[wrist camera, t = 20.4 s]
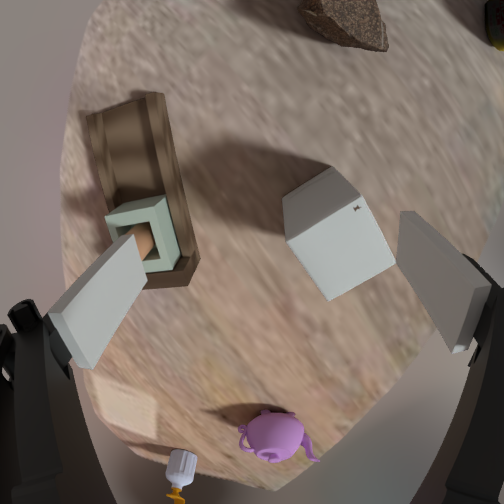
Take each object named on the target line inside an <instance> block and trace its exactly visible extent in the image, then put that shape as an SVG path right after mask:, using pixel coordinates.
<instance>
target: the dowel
mask: <svg viewBox="0 0 504 504" xmlns="http://www.w3.org/2000/svg"><path fill="white" fill-rule="evenodd" d="M129 234H134V237H135V241H136V244H137V248H138V251H139V254H140V258H141V261H142V260H143V259H144V258H145V257H146V255H147V254H148V253H149V252H150V250H151V249H152V248H153V247H154V245H155V244H156V242H155V239H154V235H153V232H152V228H151V225H150V221H148V222H142V223H137V224H136V225H135V226H134V227H133V228H132V229H130V230H129V231H128V232H127V233H126V234H125V235H129Z"/></svg>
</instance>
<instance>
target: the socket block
mask: <svg viewBox="0 0 504 504" xmlns="http://www.w3.org/2000/svg"><path fill="white" fill-rule="evenodd" d="M105 220H106V223H107V226H108V229H109V232H110V235H111V238H112V241H113V243H114V242H115V241H116V240H117V239H118V238H119V237H120V236H121V235H125V234H126V233H127V232H128V231H129V230H130V229H132V228H133V227H134V226H135V225H136V224H137V223H142V222H148V221H150V225H151V228H152V232H153V235H154V239H155V242H156V244H155V245H154V247H153V248H152V249H151V250H150V252H149V253H148V254H147V255H146V257H145V258H144V259H143V260H142V264H143V267H144V271H145V273H147V272H157V271H166V270H173V268H174V266H175V265H176V263H177V261H178V260H179V258H180V256H181V255H182V252H181V249H180V245H179V242H178V238H177V234H176V231H175V227H174V223H173V219H172V215H171V212H170V208H169V204H168V200H167V196H166V194H164V195H159V196H154V197H149V198H145V199H140V200H135V201H131V202H126V203H123V204H122V205H120V206H119V207H117V208H116V209H114V210H113V211H112V212H110V213H109V214H107V215H106V216H105Z"/></svg>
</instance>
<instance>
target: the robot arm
mask: <svg viewBox="0 0 504 504" xmlns="http://www.w3.org/2000/svg"><path fill="white" fill-rule="evenodd" d="M396 264H397V265H398V267H399V268H400V269H401V271H402V272H403V274H404V275H405V277H406V278H407V280H408V282H409V283H410V285H411V286H412V288H413V289H414V291H415V292H416V294H417V296H418V297H419V299H420V300H421V302H422V304H423V305H424V307H425V308H426V310H427V312H428V313H429V315H430V317H431V318H432V320H433V322H434V323H435V325H436V327H437V329H438V330H439V332H440V334H441V335H442V337H443V339H444V341H445V343H446V345H447V346H448V348H449V350H450V352H451V354H453V353H457V352H461V351H465V350H468V348H469V346H470V343H471V341H472V339H473V337H474V338H475V339H476V341H477V343H478V345H477V347H476V349H475V352H474V354H473V356H472V358H471V360H470V362H469V364H468V366H469V367H470V370H469V373H468V377H467V380H466V383H465V386H464V389H463V392H462V395H461V398H460V401H459V404H458V406H457V409H456V412H455V414H454V417H453V419H452V422H451V424H450V427H449V429H448V432H447V434H446V436H445V438H444V441H443V443H442V445H441V447H440V449H439V451H438V454H437V456H436V458H435V460H434V462H433V464H432V466H431V467H430V469H429V472H428V473H427V475H426V477H425V479H424V480H423V482H422V484H421V486H420V488H419V489H418V491H417V493H416V494H415V496H414V497H413V499H412V501H411V502H410V504H500V503H499V502H498V497H499V493H500V490H501V488H502V485H503V482H504V288H501V287H500V286H499V285H498V284H497V283H496V282H495V281H494V280H493V279H492V278H491V276H490V275H489V274H488V273H485V270H484V269H483V268H482V267H480V265H479V264H478V263H477V262H476V261H475V260H474V259H472V258H470V257H469V256H467V255H465V254H461V253H460V252H459V251H458V250H457V249H456V248H455V247H454V246H453V245H452V244H451V243H450V242H449V241H448V240H447V239H445V238H444V237H443V236H442V235H441V234H440V233H439V232H438V231H437V230H436V229H434V228H433V227H432V226H431V225H430V224H429V223H428V222H426V221H425V220H424V219H423V218H422V217H421V216H419V215H418V214H417V213H416V212H415V211H400V224H399V236H398V247H397V256H396ZM147 281H148V280H147V277H146V274H145V271H144V267H143V264H142V261H141V258H140V254H139V251H138V248H137V244H136V241H135V237H134V234H129V235H121V236H120V237H119V238H118V239H117V240H116V241H115V242H114V243H113V244H112V245H111V246H110V247H109V248H108V249H107V250H106V251H105V252H104V253H103V254H102V255H101V256H100V257H99V258H98V259H97V260H96V261H95V262H94V263H93V264H92V265H91V266H90V267H89V268H88V269H87V270H86V271H85V272H84V273H83V274H82V275H81V276H80V277H79V278H78V279H77V280H76V281H75V282H74V283H73V284H72V285H71V287H70V288H69V289H68V290H67V291H66V292H65V293H64V294H63V295H62V296H61V297H60V299H59V300H58V301H57V302H56V303H55V304H54V305H53V307H52V308H51V309H50V310H49V311H48V312H47V314H46V315H45V316H44V317H43V318H42V317H41V315H40V313H39V311H38V309H37V307H36V305H35V303H34V301H33V300H31V299H27V300H23V301H21V302H19V303H17V304H16V305H15V306H13V307H12V308H11V309H10V311H9V312H8V317H9V318H10V320H11V322H12V324H13V326H14V327H15V329H16V331H17V333H13V334H11V333H10V331H9V329H8V327H7V326H6V325H5V324H0V504H117V503H116V500H115V498H114V496H113V494H112V492H111V490H110V487H109V485H108V483H107V480H106V478H105V476H104V473H103V471H102V468H101V465H100V463H99V460H98V458H97V455H96V452H95V449H94V446H93V444H92V441H91V438H90V435H89V432H88V428H87V425H86V422H85V418H84V415H83V412H82V408H81V404H80V400H79V396H78V392H77V389H76V384H75V380H74V375H73V370H72V368H71V366H70V365H69V363H68V362H69V361H70V359H71V358H72V357H73V359H74V361H75V362H76V364H77V365H78V367H79V368H85V369H92V370H93V369H94V367H95V365H96V363H97V362H98V360H99V358H100V356H101V355H102V353H103V351H104V350H105V348H106V346H107V345H108V343H109V341H110V339H111V338H112V336H113V334H114V333H115V331H116V330H117V328H118V326H119V325H120V323H121V321H122V320H123V318H124V317H125V315H126V313H127V312H128V310H129V309H130V307H131V305H132V304H133V302H134V301H135V299H136V298H137V296H138V294H139V293H140V291H141V290H142V288H143V287H144V285H145V284H146V282H147ZM2 367H3V368H4V370H5V371H6V372H7V374H8V375H9V376H10V378H9V381H7V380H6V378H5V377H4V376H3V374H2Z"/></svg>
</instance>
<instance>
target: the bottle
mask: <svg viewBox="0 0 504 504" xmlns="http://www.w3.org/2000/svg"><path fill="white" fill-rule="evenodd" d="M485 24H486V30H487V34H488V37H489V39H490V41H491V43H492V44H493V46H494V47H495V48H496V49H498V50H499V51H504V0H488V1H487V2H486V4H485Z"/></svg>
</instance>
